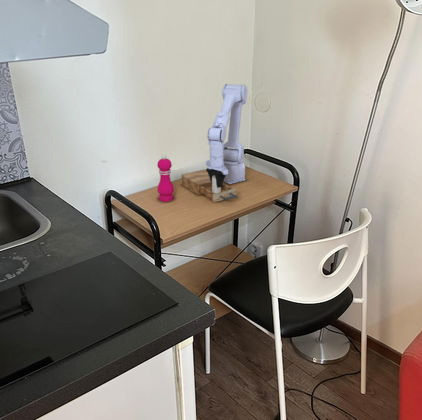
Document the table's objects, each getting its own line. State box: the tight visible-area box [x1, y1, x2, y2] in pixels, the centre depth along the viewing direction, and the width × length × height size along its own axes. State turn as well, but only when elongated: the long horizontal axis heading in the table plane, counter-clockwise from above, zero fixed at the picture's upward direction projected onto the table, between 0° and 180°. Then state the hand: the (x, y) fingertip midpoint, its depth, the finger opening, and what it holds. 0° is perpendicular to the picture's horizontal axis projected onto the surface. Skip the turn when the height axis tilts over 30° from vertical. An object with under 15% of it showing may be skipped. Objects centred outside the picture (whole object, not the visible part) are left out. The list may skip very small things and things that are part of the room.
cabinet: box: [181, 168, 211, 196], centre depth 203 cm, size 15×13×5 cm
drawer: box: [200, 183, 238, 203], centre depth 192 cm, size 18×11×3 cm, turn 27°
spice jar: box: [212, 175, 221, 193], centre depth 192 cm, size 4×4×7 cm
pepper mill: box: [156, 154, 175, 203], centre depth 190 cm, size 7×7×20 cm
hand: (216, 185), depth 192 cm, fingers closed on spice jar, 4 cm apart
